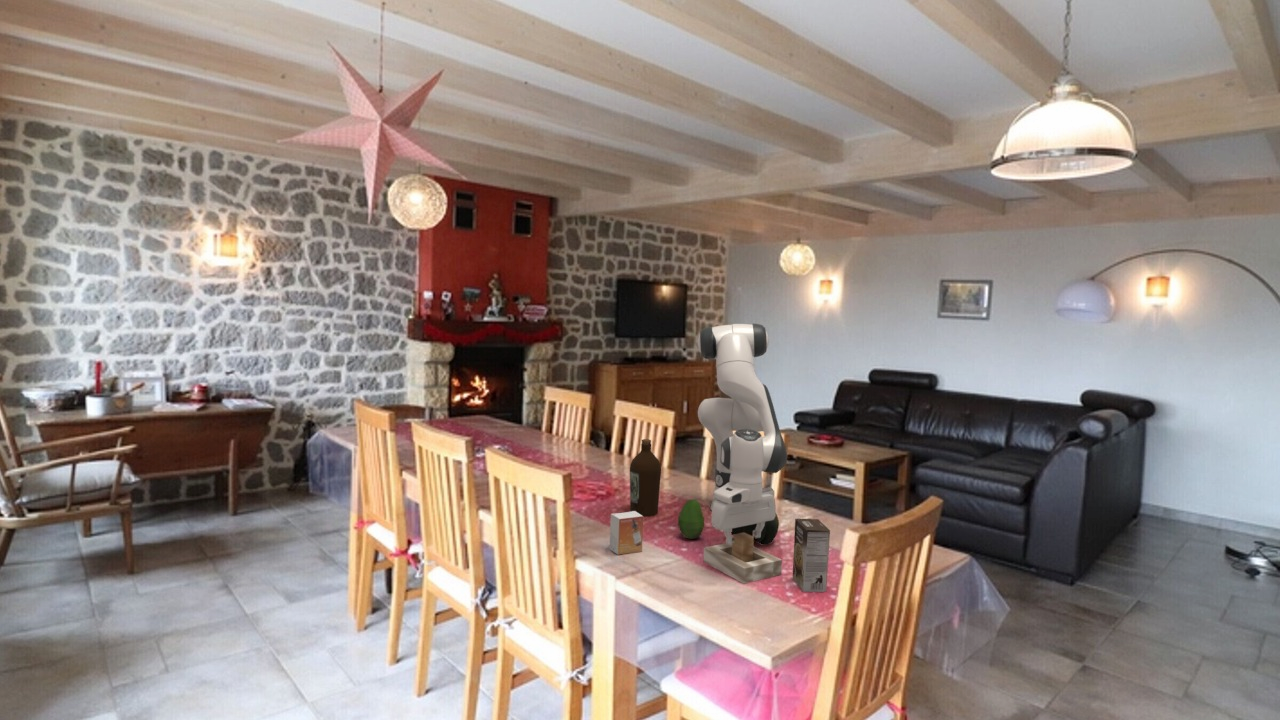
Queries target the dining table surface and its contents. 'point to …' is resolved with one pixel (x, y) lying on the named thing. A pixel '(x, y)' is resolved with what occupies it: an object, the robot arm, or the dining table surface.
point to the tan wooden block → (743, 547)
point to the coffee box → (811, 555)
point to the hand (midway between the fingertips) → (743, 540)
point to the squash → (766, 534)
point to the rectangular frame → (742, 563)
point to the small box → (626, 532)
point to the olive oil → (645, 481)
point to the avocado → (691, 519)
